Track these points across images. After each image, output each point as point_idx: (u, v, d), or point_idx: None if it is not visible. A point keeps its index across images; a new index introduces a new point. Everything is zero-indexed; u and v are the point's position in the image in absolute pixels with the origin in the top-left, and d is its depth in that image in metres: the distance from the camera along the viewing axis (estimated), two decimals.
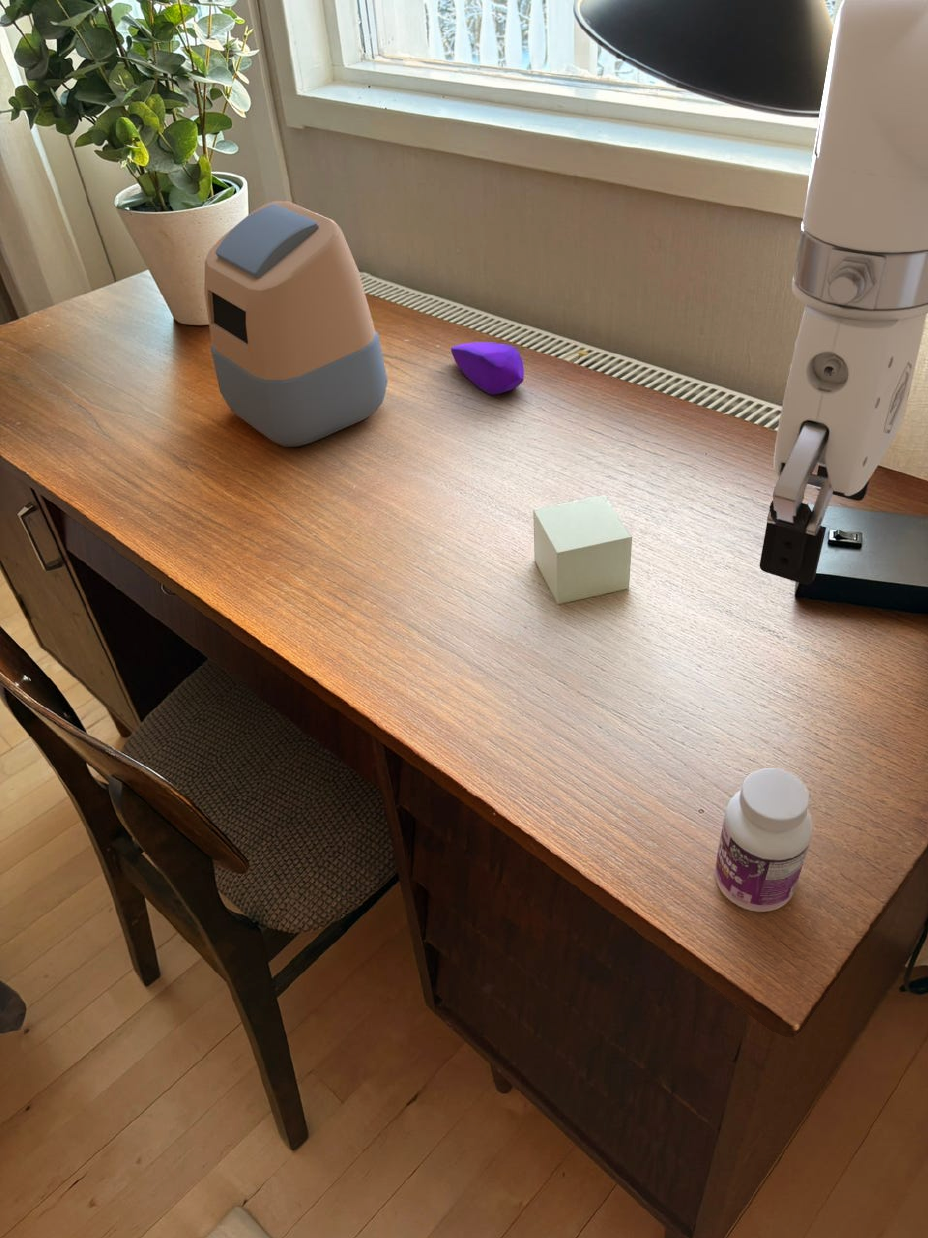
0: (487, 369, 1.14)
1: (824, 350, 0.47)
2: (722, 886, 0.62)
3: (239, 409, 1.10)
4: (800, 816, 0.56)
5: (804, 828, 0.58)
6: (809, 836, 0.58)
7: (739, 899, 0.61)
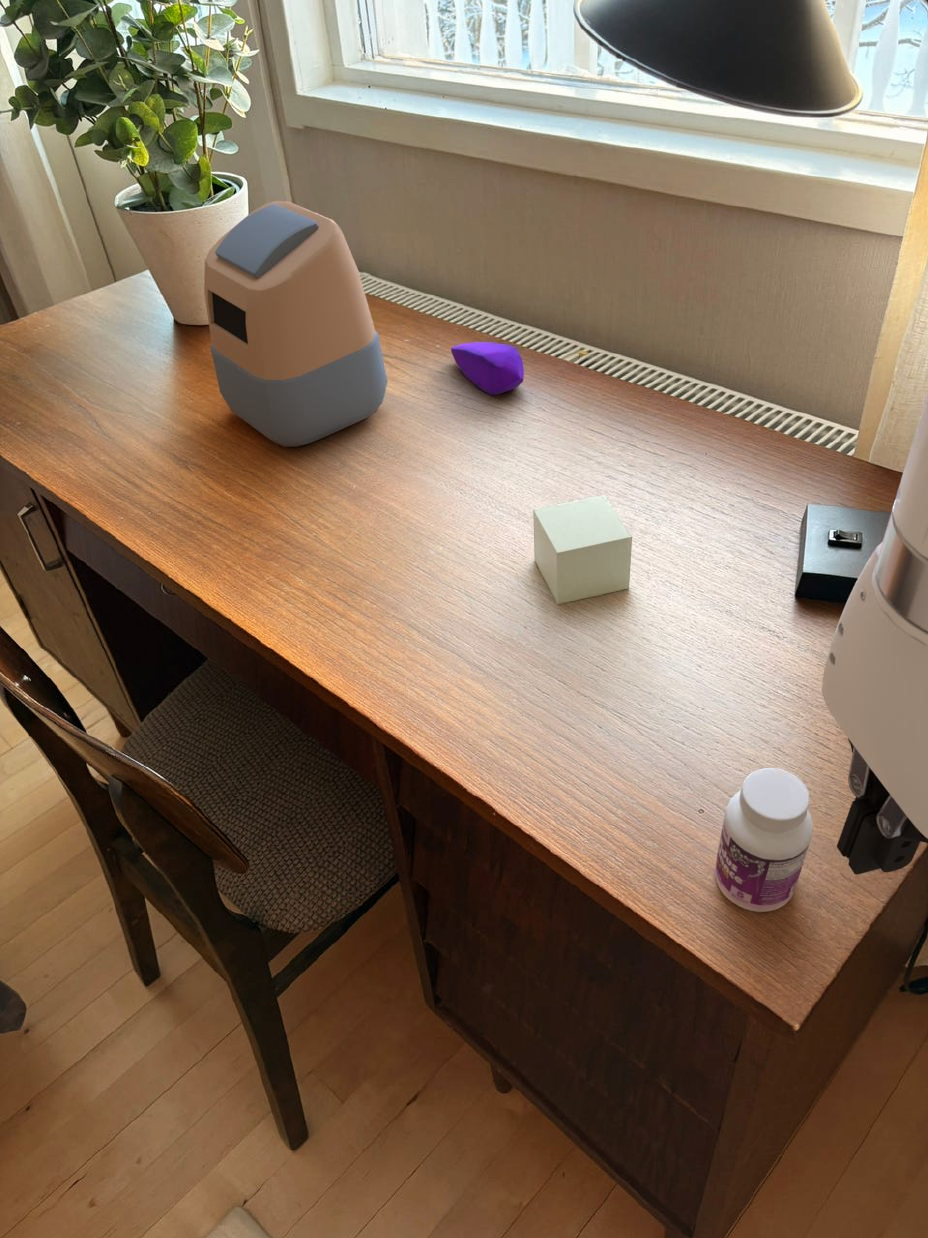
0: (487, 369, 1.14)
1: None
2: (722, 886, 0.62)
3: (239, 409, 1.10)
4: (800, 816, 0.56)
5: (804, 828, 0.58)
6: (809, 836, 0.58)
7: (739, 899, 0.61)
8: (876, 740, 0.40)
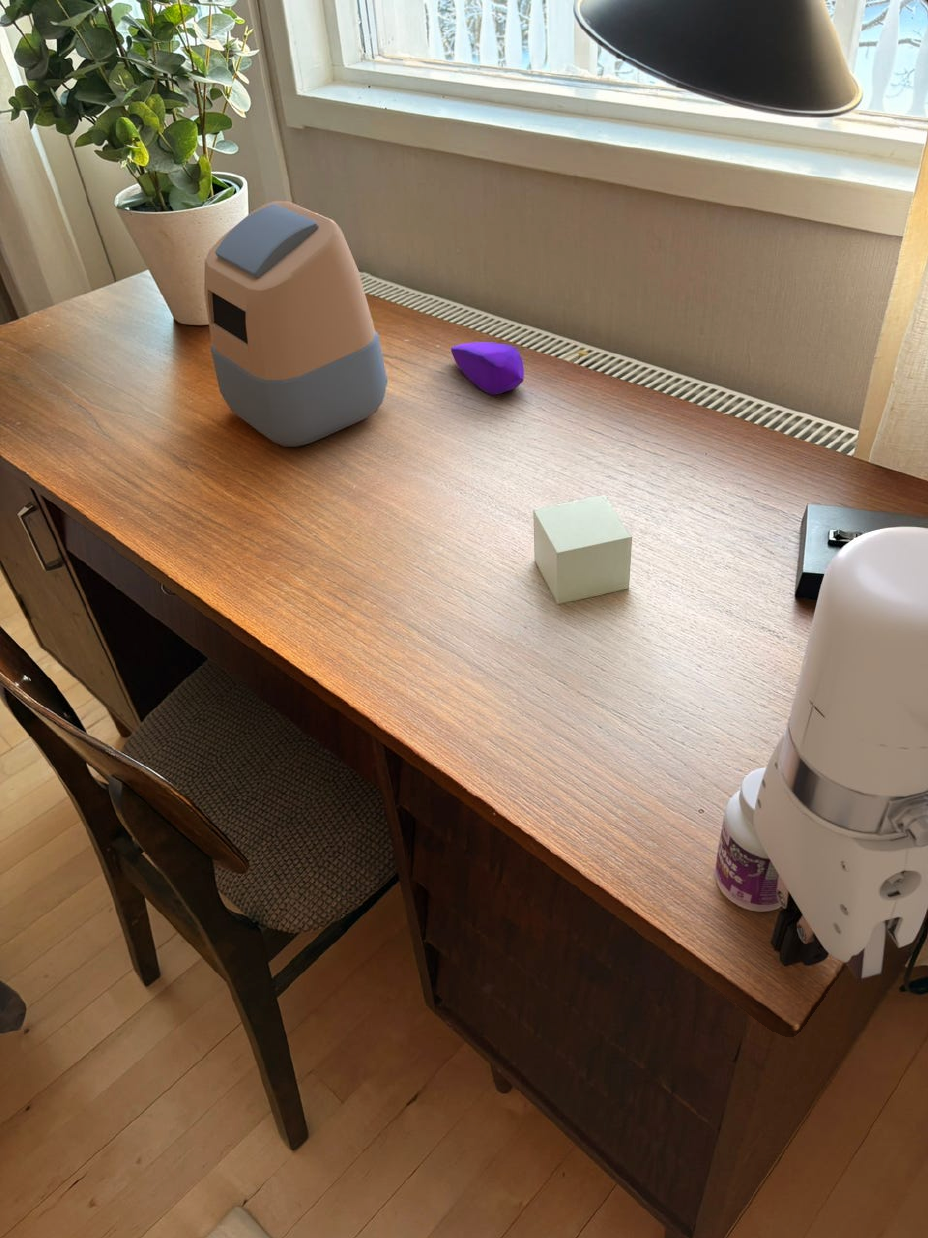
0: (487, 369, 1.14)
1: (896, 872, 0.45)
2: (722, 886, 0.62)
3: (239, 409, 1.10)
4: None
5: None
6: None
7: (739, 899, 0.61)
8: (790, 873, 0.52)
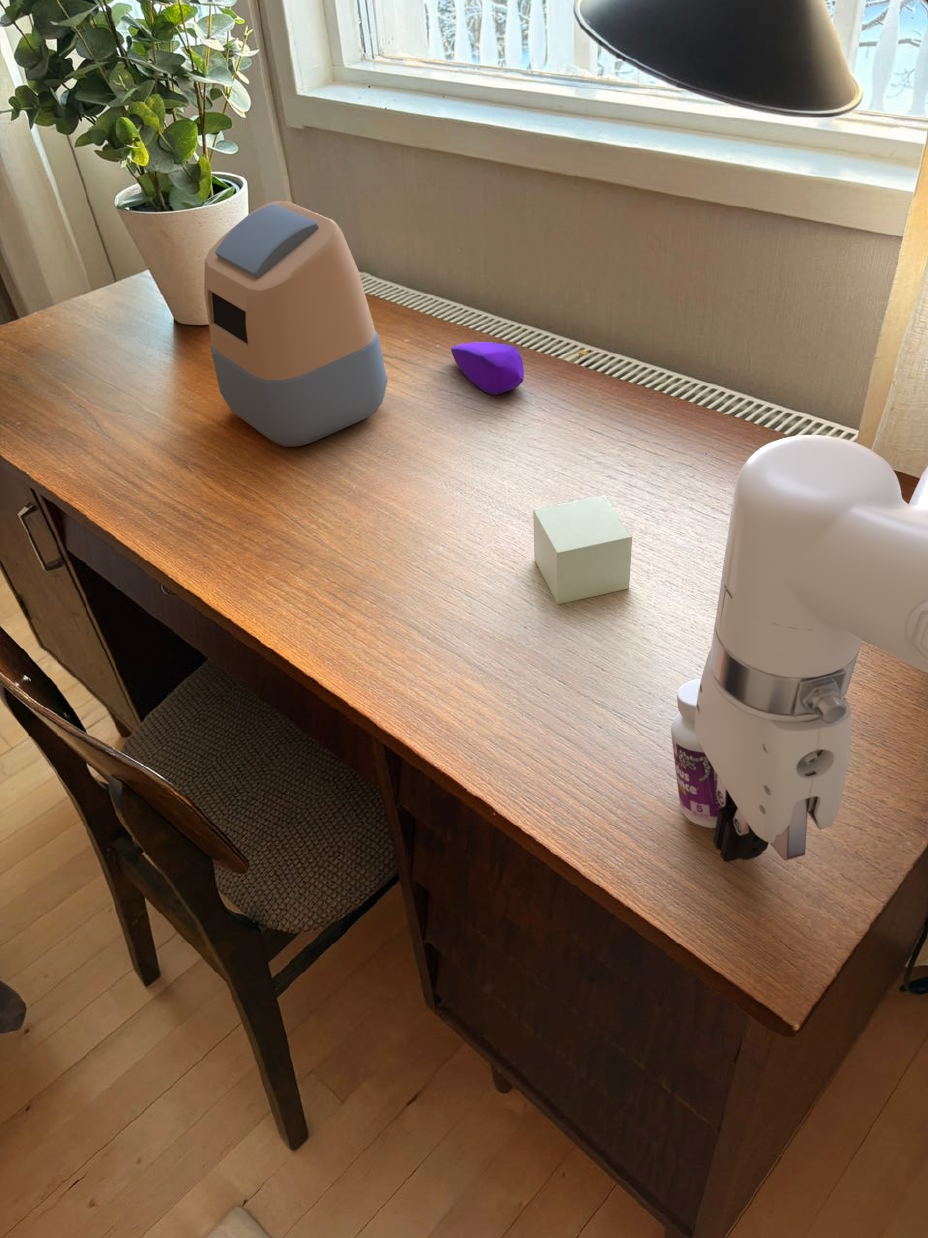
0: (487, 369, 1.14)
1: (810, 751, 0.50)
2: (685, 810, 0.66)
3: (239, 409, 1.10)
4: None
5: None
6: None
7: (700, 814, 0.65)
8: (724, 767, 0.57)
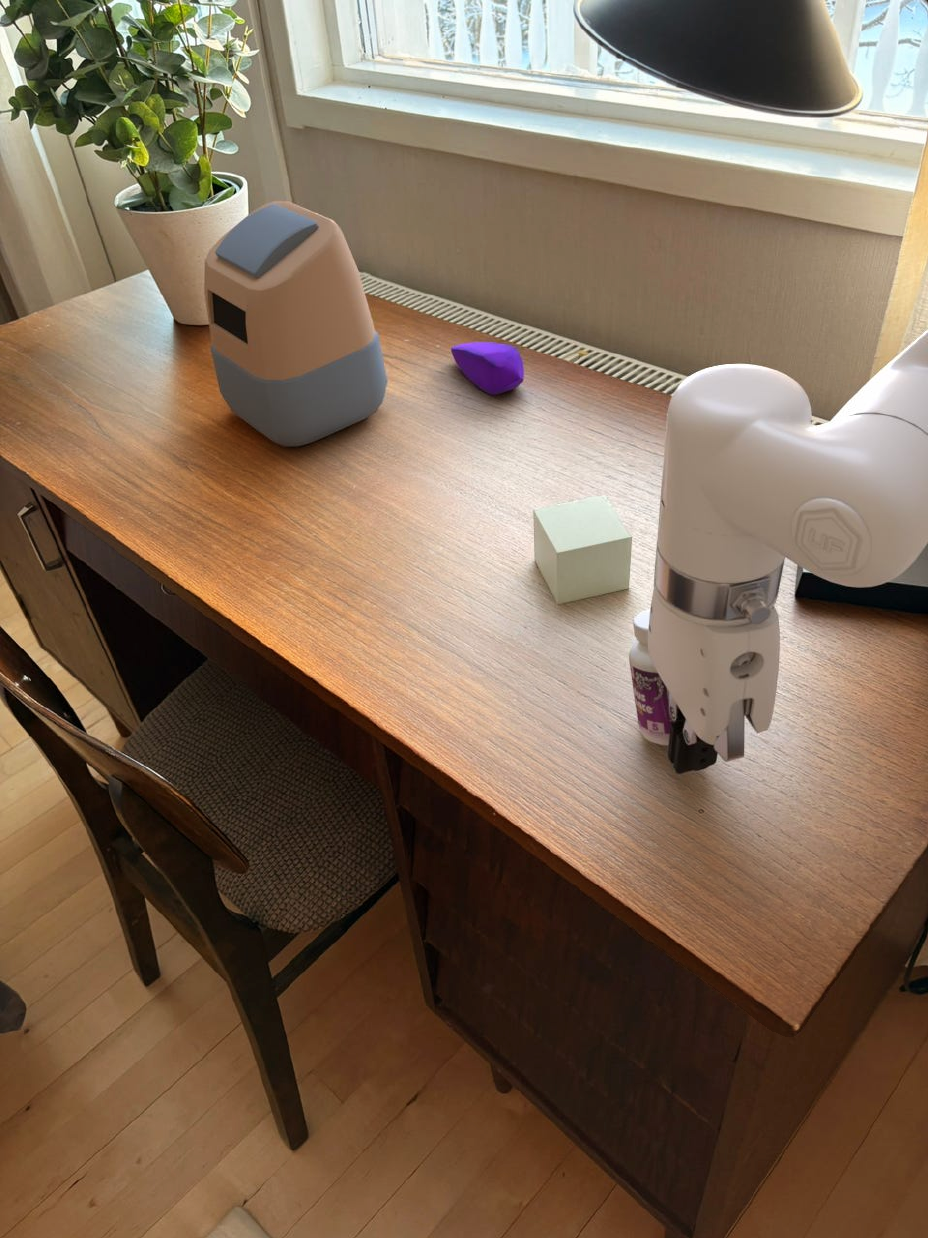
0: (487, 369, 1.14)
1: (742, 653, 0.56)
2: (643, 730, 0.72)
3: (239, 409, 1.10)
4: None
5: None
6: None
7: (656, 732, 0.71)
8: (672, 679, 0.63)
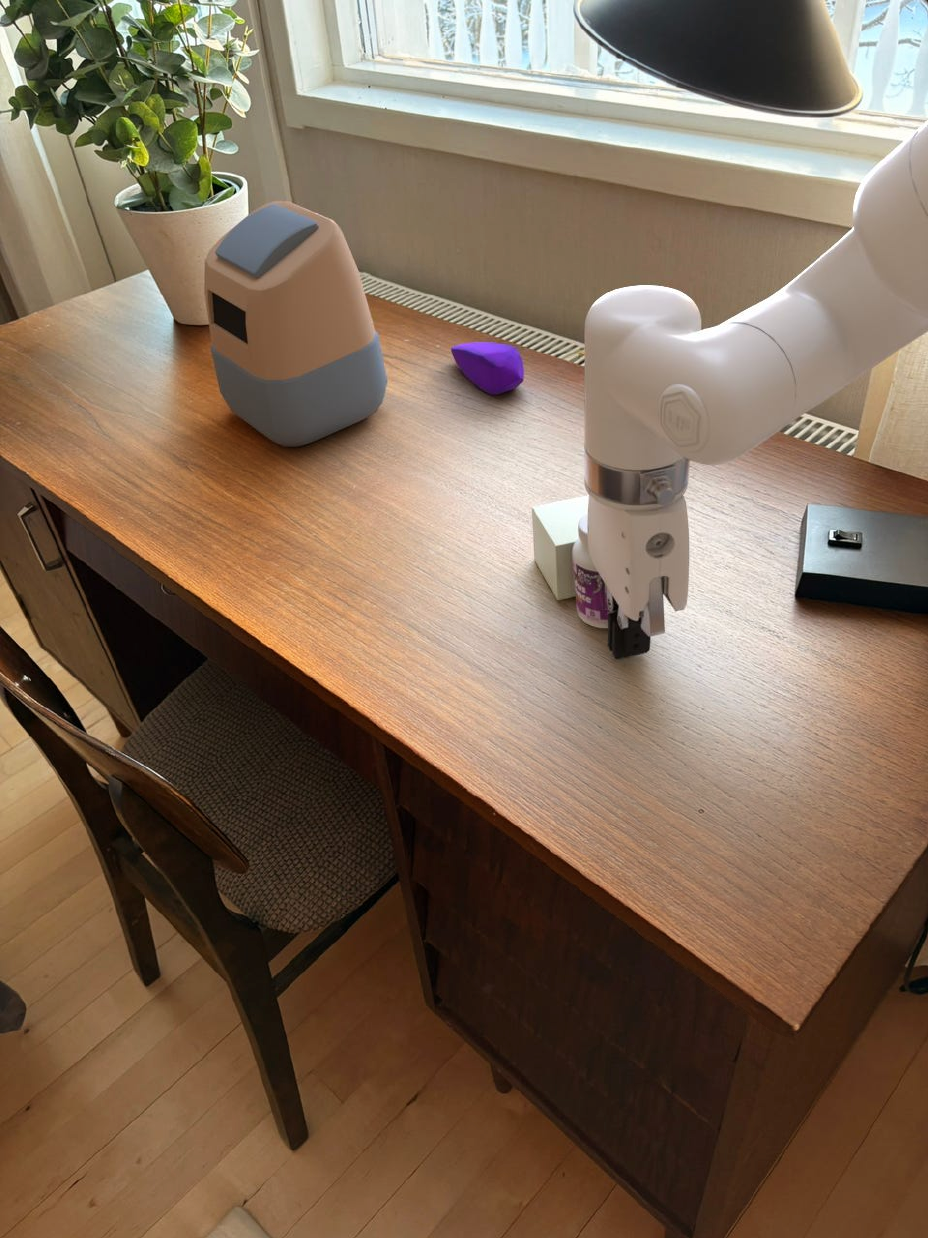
0: (487, 369, 1.14)
1: (654, 533, 0.67)
2: (581, 614, 0.83)
3: (239, 409, 1.10)
4: None
5: None
6: None
7: (593, 618, 0.82)
8: (604, 568, 0.74)
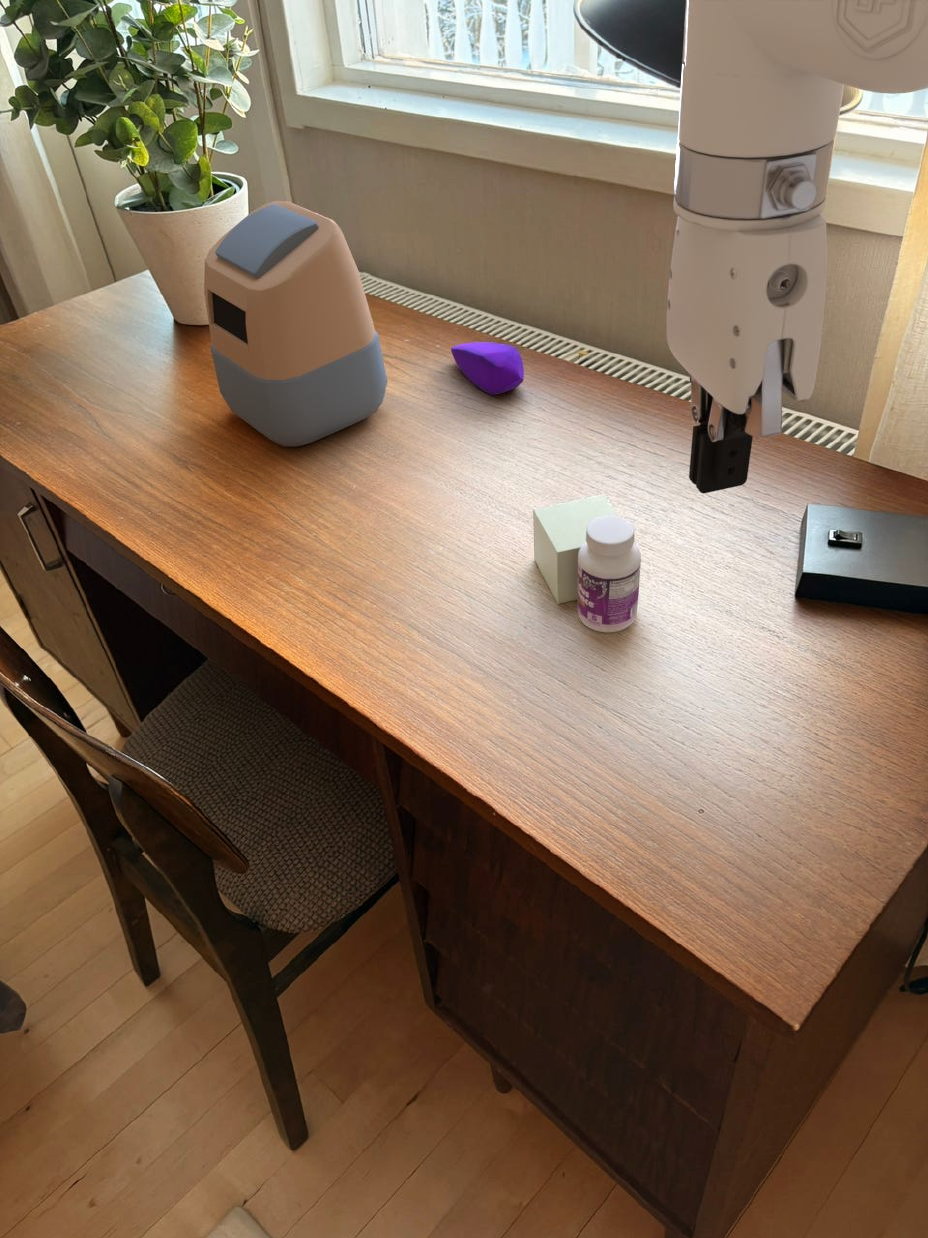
0: (487, 369, 1.14)
1: (781, 264, 0.46)
2: (582, 617, 0.83)
3: (239, 409, 1.10)
4: (627, 541, 0.77)
5: (633, 555, 0.79)
6: (637, 561, 0.79)
7: (594, 622, 0.82)
8: (695, 348, 0.53)
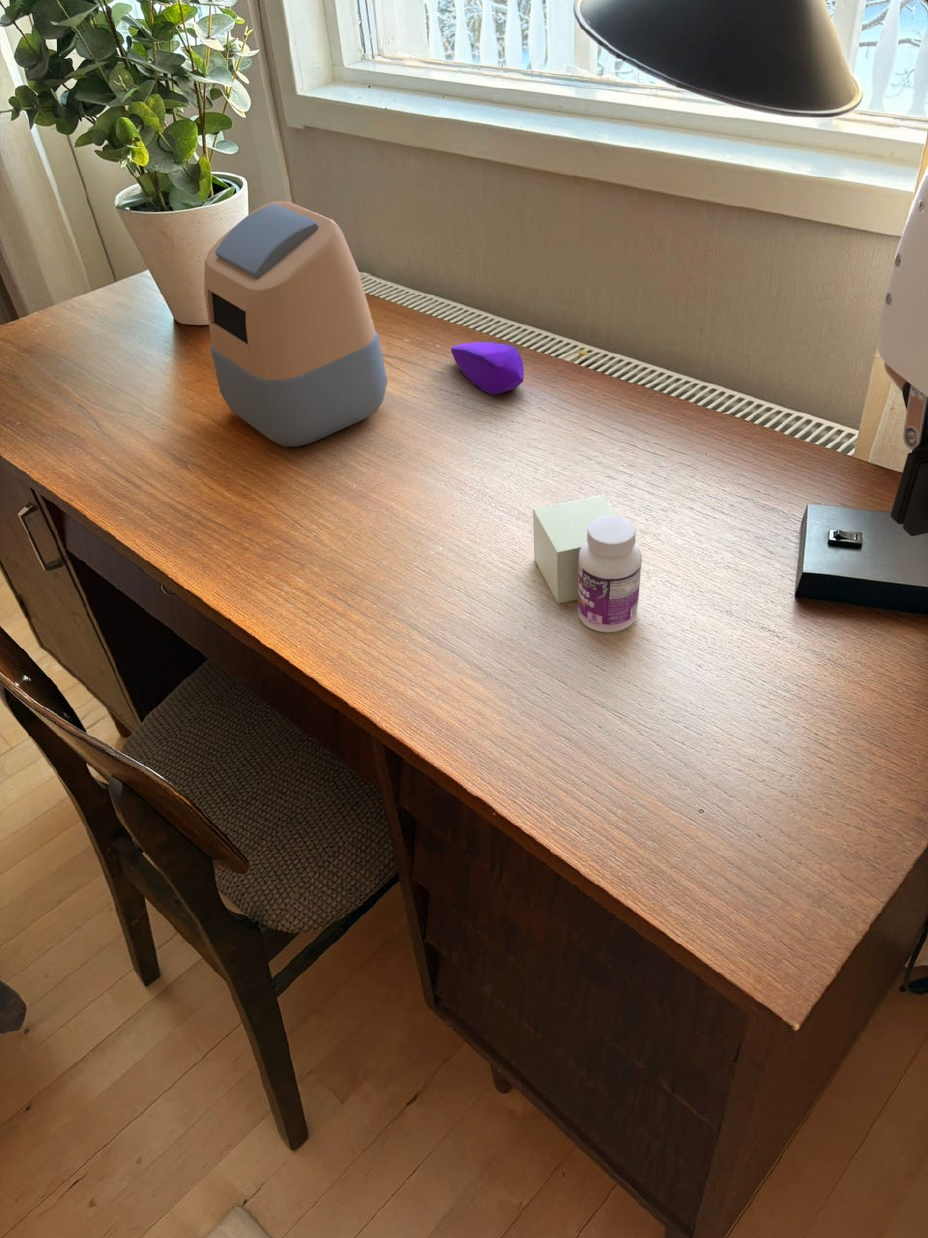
0: (487, 369, 1.14)
1: None
2: (582, 617, 0.83)
3: (239, 409, 1.10)
4: (628, 541, 0.77)
5: (634, 555, 0.79)
6: (638, 561, 0.79)
7: (594, 622, 0.82)
8: None
